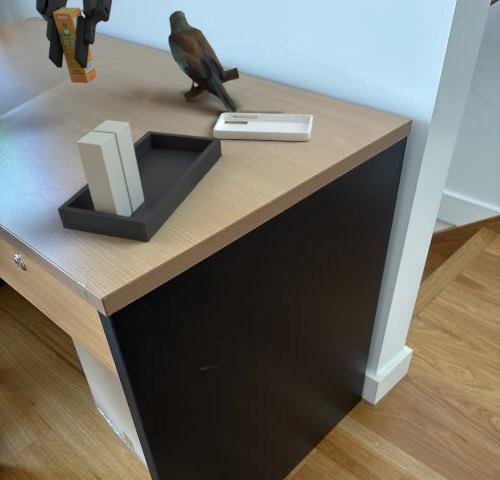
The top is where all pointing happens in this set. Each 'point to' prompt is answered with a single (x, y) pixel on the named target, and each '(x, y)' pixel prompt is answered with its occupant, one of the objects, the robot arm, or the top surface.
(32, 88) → the top surface
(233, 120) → the phone case
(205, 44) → the bird figurine
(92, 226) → the tray
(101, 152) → the white boxes
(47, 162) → the top surface
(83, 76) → the supplement box
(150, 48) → the top surface
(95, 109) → the top surface
